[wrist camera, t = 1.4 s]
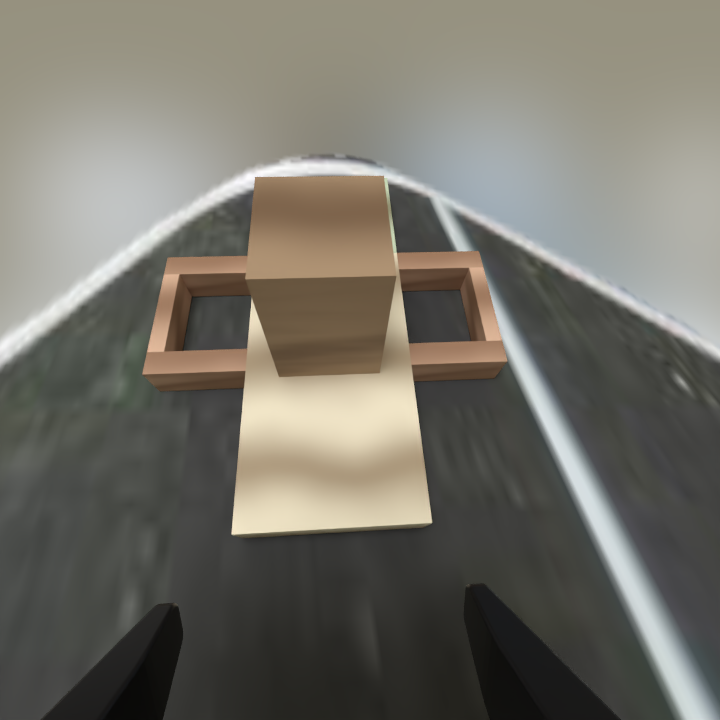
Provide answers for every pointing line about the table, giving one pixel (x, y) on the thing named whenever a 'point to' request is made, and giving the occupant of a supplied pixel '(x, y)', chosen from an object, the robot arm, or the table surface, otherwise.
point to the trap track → (326, 401)
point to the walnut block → (322, 272)
